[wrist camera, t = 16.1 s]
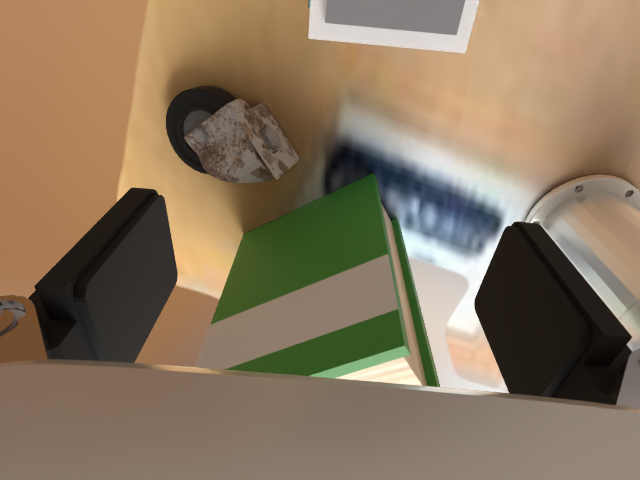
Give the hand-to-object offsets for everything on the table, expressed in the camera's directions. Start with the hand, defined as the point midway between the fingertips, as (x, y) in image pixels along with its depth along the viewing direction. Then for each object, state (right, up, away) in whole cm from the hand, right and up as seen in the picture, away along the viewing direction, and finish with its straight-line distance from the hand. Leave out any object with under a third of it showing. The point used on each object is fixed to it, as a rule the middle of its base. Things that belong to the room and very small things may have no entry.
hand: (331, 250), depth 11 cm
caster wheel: (-10, +12, +30) cm, 33 cm away
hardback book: (0, +2, +36) cm, 36 cm away
